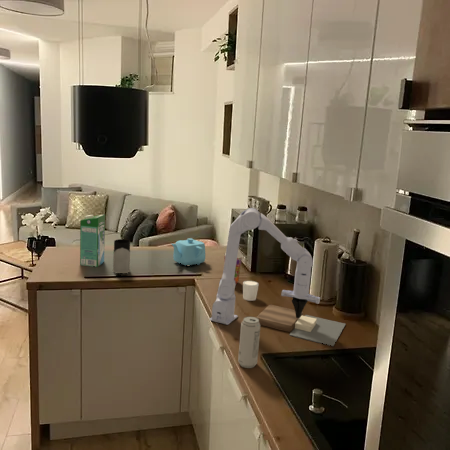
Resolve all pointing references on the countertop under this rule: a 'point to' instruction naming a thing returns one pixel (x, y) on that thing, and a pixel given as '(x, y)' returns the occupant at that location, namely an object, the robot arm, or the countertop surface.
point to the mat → (321, 331)
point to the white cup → (250, 290)
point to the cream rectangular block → (305, 323)
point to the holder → (121, 256)
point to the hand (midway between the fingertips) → (298, 317)
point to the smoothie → (237, 266)
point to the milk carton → (92, 240)
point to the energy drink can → (249, 342)
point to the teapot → (189, 252)
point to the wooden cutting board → (278, 318)
